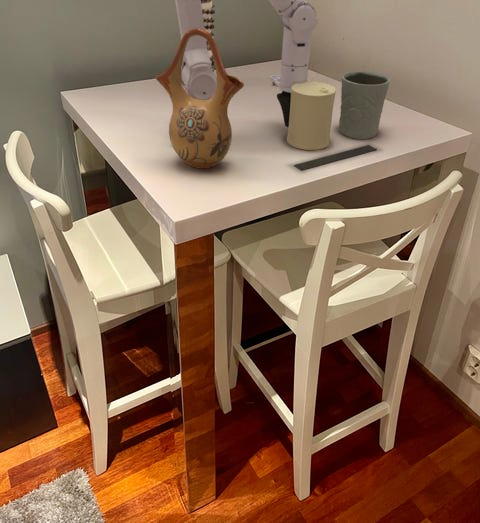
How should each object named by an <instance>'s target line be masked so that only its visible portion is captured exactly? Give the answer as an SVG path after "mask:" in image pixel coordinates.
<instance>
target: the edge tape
mask: <svg viewBox="0 0 480 523" xmlns="http://www.w3.org/2000/svg"><path fill="white" fill-rule="evenodd" d="M377 150H378V148H376V147H374V146H371V145H370V144H367V145H363V146H360V147H356V148H352V149H348V150H344V151H341V152H337V153H334V154H330V155H326V156H325V155H324V156H321V157H318V158H314V159H311V160H307V161H304V162H300V163H296V164H293V167H295V168H296V169H298V170H299V171H306V170H309V169H312V168H317V167H320V166H325V165H327V164H331V163H335V162H338V161H342V160H345V159H349V158H353V157H357V156H360V155H363V154H367V153H371V152H374V151H377Z"/></svg>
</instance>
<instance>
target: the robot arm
mask: <svg viewBox="0 0 480 523" xmlns="http://www.w3.org/2000/svg"><path fill="white" fill-rule="evenodd" d="M267 1H268V3H269V4H270V5H271V6H272V8H273V9H274V10H275V12H276V13H277V14H278V15H279V19H280V23H282V24H284V26H283V36H282V45H281V46H282V47H281V60H280V62H281V63H280V75H279V74H276V75H270V77H269V86H270V87H277V88H278V89H279V90H281V92H280V93H277V94H276V99H277V101H278V102H279V105H280V108H281V113H282V117H283V122H284V127H286V128H289V116H290V103H291V86H292V85H293V84H295V83H304V82H307V81H308V76H309V74H308V73H309V65H310V54H311V46H312V45H311V44H312V32H313V31H314V30H315V29H316V27H317V24H318V23H319V22H318V21H319V17H317V11H316V9H315V7H314V5H313V4H312V3H310V2H308V1H306V0H267ZM174 3H175V10H176V15H177V16H176V17H177V22H178V28H179V35H180V41H181V40H182V38H183V36H184V34H185V33H186V32H187V31H189V30H191V29H196V28H199V29H202V30H205V29H204V21H203V14H202V6H201V0H174ZM212 67H213V66H212ZM212 67H211V61H210V57H209V54H208V50H207V44H206V39H205V38H204V37H202V36H198V35H196V36H192V37H190V39H189V40H188V42H187V45H186V48H185V52H184V56H183V61H182V68H181V82H182V84H184V86H185V87H184V90H185V91H186V93H187V94H188V95H190V96H191V97H193V98H195V99H200V100H208V99H210V98H211V97H212V96H213V95H214V94H215V92H216V89H217V75H216V73H214V72H213V71H212Z"/></svg>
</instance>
